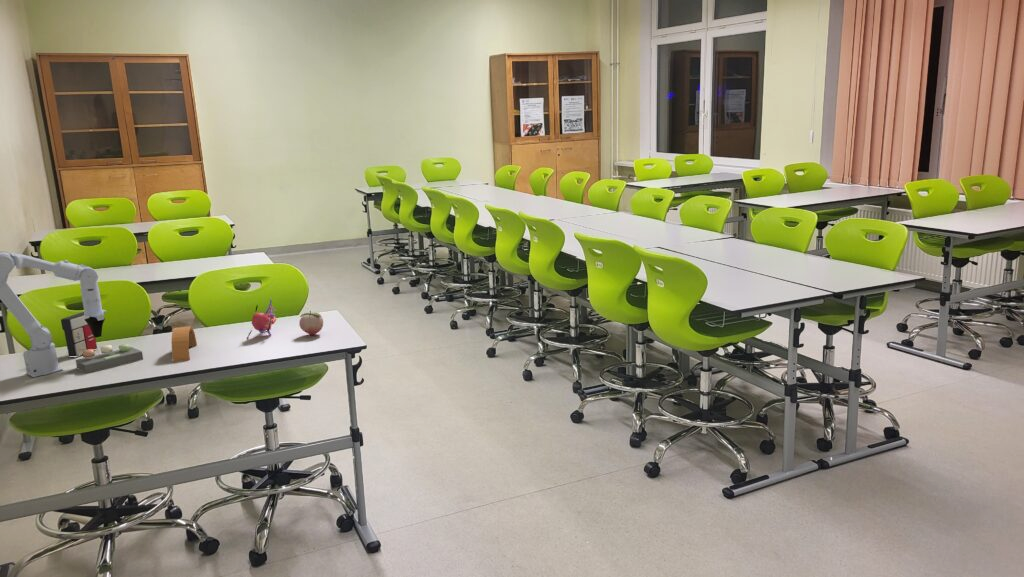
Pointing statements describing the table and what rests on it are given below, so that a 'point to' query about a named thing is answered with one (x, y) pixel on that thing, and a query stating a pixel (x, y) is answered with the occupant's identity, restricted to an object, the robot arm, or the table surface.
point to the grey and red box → (78, 334)
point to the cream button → (106, 349)
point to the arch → (182, 343)
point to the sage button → (124, 347)
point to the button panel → (108, 360)
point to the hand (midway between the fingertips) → (97, 336)
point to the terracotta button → (88, 353)
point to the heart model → (263, 320)
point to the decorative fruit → (311, 323)
